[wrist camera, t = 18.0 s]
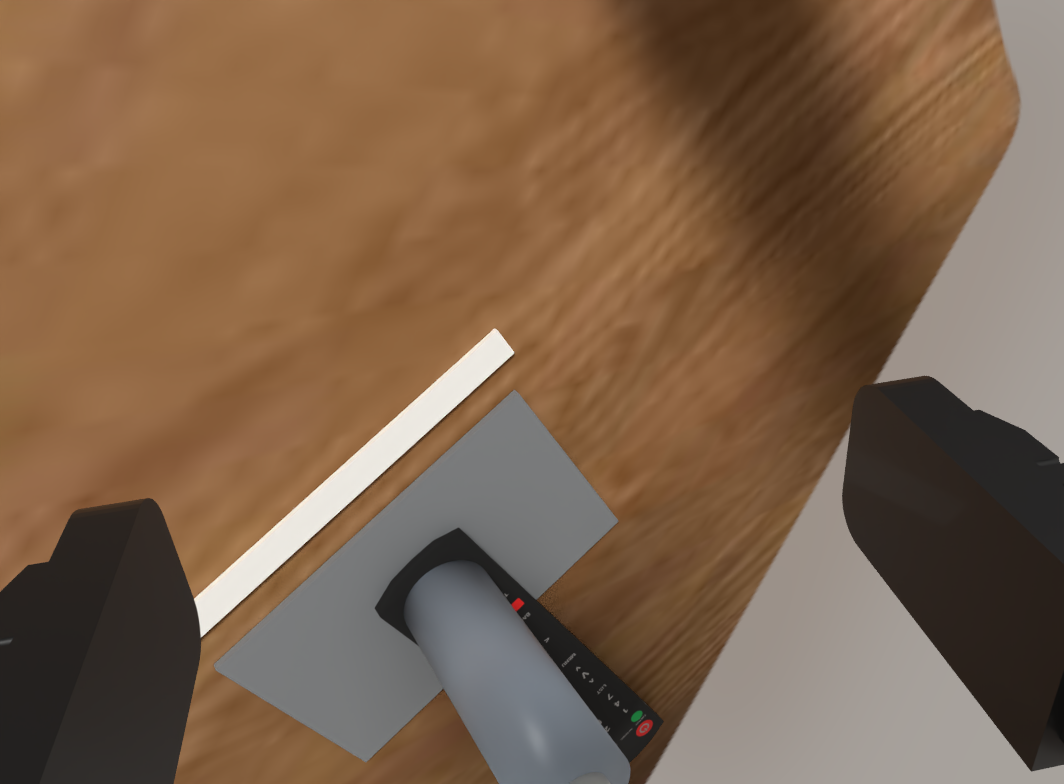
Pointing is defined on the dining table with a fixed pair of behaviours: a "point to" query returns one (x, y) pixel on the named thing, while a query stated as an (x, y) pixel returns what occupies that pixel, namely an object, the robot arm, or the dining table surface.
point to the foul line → (350, 480)
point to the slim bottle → (507, 683)
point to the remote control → (583, 670)
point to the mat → (386, 548)
